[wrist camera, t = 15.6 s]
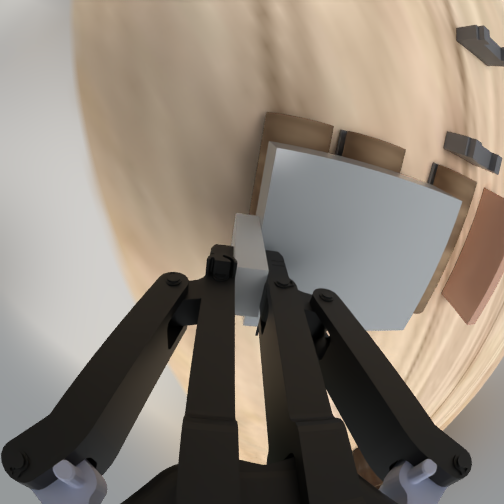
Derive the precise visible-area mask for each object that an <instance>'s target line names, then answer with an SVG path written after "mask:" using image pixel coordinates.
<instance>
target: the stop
mask: <svg viewBox="0 0 504 504" xmlns="http://www.w3.org/2000/svg"><path fill="white" fill-rule="evenodd" d="M503 272H504V198H503V197H501V196H499V195H497V194H495V193H493V192H491V191H489V190H488V189H486V188H484V190H483V194H482V197H481V200H480V203H479V207H478V210H477V213H476V215H475V218H474V221H473V224H472V227H471V229H470V232H469V234H468V237H467V239H466V242H465V244H464V247H463V249H462V251H461V254H460V256H459V258H458V261H457V263H456V265H455V267H454V269H453V271H452V273H451V275H450V277H449V279H448V281H447V283H446V285H445V287H444V289H443V291H442V294H443V296H444V297H445V298H446V299H447V300H448V302H449V303H450V304H451V305H452V306H453V308H454V309H455V310H456V311H457V313H458V314H459V315H460V316H461V318H462V319H463V320H464V322H465V323H466V324H467V325H470V324H475V323H476V321H477V319H478V318H479V316H480V315H481V313H482V311H483V310H484V308H485V306H486V304H487V303H488V301H489V299H490V297H491V296H492V294H493V292H494V290H495V288H496V286H497V284H498V282H499V281H500V279H501V277H502V274H503Z"/></svg>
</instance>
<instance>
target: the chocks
mask: <svg viewBox="0 0 504 504" xmlns="http://www.w3.org/2000/svg"><path fill="white" fill-rule="evenodd" d="M346 135H347V131H344V130H341V131H340V135H339V140H338V145H337V149H336V154H335V155H339V156H342V153H343V149H344V144H345V140H346ZM437 168H438V164H436V163H433V165H432V168H431V172H430V176H429V179H428V183H429V184H431V185H433V182H434V179H435V175H436V172H437Z"/></svg>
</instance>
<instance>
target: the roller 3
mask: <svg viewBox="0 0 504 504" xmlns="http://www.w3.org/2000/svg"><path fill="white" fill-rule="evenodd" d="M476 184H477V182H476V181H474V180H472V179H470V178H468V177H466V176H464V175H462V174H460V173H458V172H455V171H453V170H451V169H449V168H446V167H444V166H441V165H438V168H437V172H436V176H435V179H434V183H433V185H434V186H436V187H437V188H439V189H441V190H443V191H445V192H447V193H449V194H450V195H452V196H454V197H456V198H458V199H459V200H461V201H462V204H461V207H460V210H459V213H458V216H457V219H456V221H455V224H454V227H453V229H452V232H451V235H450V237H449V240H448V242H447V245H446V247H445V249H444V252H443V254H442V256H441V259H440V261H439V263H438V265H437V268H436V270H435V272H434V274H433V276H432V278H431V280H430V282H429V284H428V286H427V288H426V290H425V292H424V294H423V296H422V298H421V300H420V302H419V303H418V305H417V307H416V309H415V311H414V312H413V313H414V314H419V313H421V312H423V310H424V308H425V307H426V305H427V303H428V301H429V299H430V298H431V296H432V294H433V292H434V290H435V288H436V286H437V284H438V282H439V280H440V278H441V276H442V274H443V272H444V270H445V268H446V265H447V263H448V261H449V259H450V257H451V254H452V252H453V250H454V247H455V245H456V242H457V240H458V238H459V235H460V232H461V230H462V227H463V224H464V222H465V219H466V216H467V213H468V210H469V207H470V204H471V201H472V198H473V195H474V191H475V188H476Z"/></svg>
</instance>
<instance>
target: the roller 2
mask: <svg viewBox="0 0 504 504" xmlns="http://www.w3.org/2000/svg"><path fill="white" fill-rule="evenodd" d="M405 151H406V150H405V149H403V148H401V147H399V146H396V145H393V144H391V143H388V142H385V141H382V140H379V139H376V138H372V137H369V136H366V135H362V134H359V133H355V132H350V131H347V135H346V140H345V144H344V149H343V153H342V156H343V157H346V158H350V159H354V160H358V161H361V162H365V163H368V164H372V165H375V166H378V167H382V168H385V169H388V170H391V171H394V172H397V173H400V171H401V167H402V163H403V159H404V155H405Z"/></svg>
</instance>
